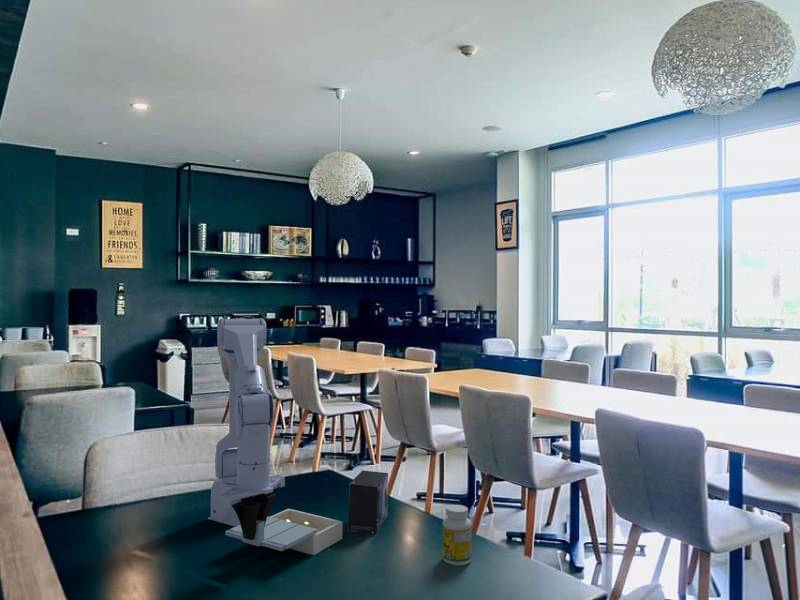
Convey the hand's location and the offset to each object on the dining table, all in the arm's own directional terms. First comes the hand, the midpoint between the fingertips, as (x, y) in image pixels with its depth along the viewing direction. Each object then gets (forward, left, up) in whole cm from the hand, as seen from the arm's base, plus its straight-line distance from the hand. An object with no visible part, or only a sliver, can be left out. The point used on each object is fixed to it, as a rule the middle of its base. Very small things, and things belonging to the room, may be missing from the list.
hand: (253, 536), depth 106 cm
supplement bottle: (+30, +22, -6) cm, 38 cm away
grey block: (0, +13, -5) cm, 14 cm away
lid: (0, +5, -1) cm, 5 cm away
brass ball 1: (-4, +13, -5) cm, 14 cm away
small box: (+7, +27, -6) cm, 28 cm away
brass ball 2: (0, +14, -5) cm, 15 cm away
